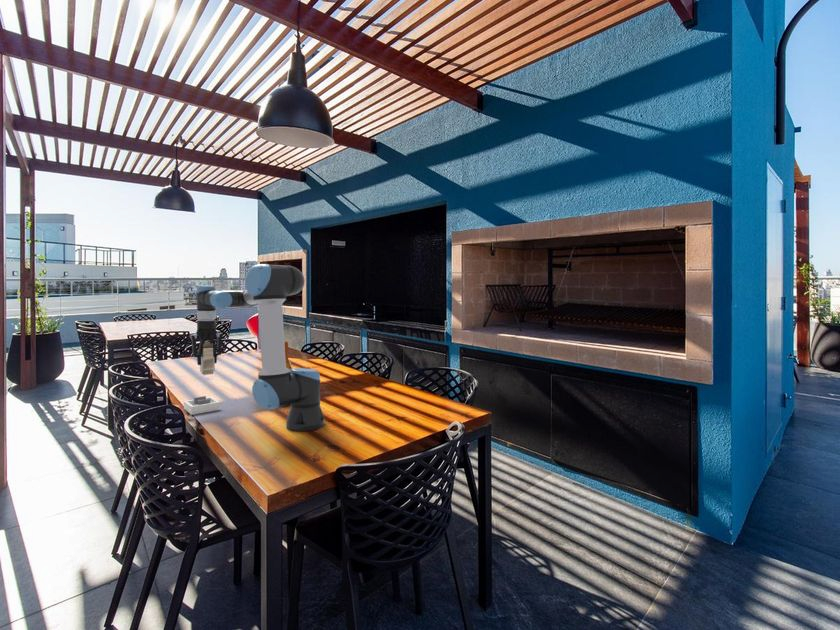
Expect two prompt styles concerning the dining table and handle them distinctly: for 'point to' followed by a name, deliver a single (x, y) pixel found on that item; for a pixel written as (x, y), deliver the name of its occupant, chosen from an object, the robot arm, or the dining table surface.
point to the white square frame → (201, 405)
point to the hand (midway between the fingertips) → (207, 371)
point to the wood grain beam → (207, 358)
